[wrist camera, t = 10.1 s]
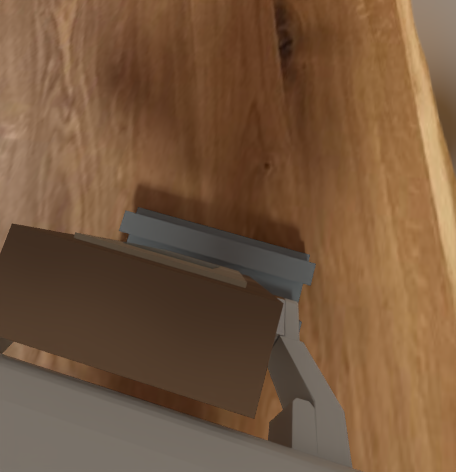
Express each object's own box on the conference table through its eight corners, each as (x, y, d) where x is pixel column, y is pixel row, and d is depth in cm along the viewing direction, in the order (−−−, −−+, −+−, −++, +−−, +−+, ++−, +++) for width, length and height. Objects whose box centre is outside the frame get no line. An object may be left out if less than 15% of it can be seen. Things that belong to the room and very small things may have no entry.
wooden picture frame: (239, 311, 16) (254, 419, 5) (148, 284, 16) (-29, 327, 5) (250, 273, 16) (286, 294, 5) (160, 247, 16) (15, 215, 5)
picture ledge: (284, 341, 27) (293, 355, 23) (116, 291, 28) (96, 296, 24) (305, 255, 28) (318, 254, 24) (143, 210, 29) (128, 201, 25)
